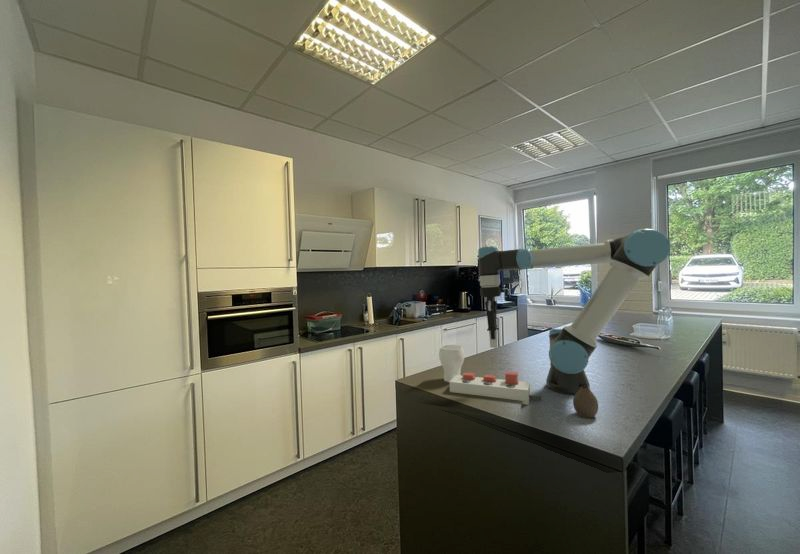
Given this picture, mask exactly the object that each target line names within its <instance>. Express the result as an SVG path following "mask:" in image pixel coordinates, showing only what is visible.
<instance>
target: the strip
mask: <svg viewBox="0 0 800 554" xmlns="http://www.w3.org/2000/svg"><path fill="white" fill-rule="evenodd" d="M448 383H449V393H457V394H462V395H463V394H464V395H472V396H473V395H474V396H480V397H481V396H482V397H489V398H497V399H505V400H506V399H507V400H513V401H521V404H522V405H530V400H539V401H542V396H540V395H535V394H534V395H533V394H531V389H530V388H531V387H530V385H531V384H530V382H529V381H523V380H522V381H520V380H518V383H517V385H516V384H507V383H506V380H505V379H501V378H496V382H495V383H494V382H485V381H484V377H479V376H475V379H474V380H465V379H463V375H461V374H460V375H455V376H454V377H453V378H452V380H451V381H450V382H448Z"/></svg>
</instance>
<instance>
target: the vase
mask: <svg viewBox="0 0 800 554" xmlns="http://www.w3.org/2000/svg"><path fill="white" fill-rule="evenodd" d="M572 404H573V405H572V406H573V408H574V411H575V412H576V413H577V414H578V416H580V417H583V418H587V419H590V418H594V417H595V416H596V415H597V414H598V411H599V401H598V398H597V397H596V396H595V394H594V393H593V391H591V388H590V389H589V387H586V386H581V387H580V389H579V391H578V392H577V393H576V394H573V398H572Z"/></svg>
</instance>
